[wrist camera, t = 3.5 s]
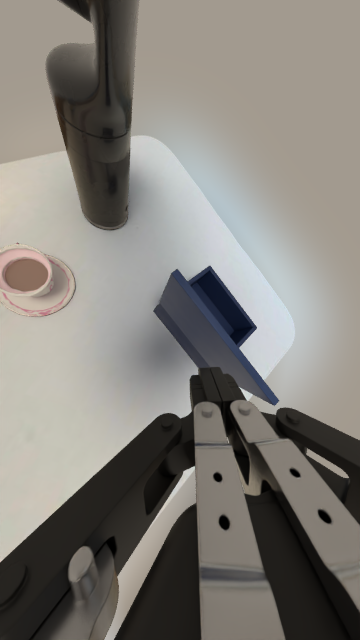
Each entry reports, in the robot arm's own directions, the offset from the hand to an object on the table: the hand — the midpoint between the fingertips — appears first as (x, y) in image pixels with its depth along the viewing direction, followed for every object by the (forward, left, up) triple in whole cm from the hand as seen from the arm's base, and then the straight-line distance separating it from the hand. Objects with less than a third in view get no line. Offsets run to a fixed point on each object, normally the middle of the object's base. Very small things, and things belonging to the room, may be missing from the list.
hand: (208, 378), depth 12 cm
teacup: (-21, -15, -25) cm, 36 cm away
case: (-5, +13, -25) cm, 28 cm away
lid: (-2, +6, -10) cm, 12 cm away
